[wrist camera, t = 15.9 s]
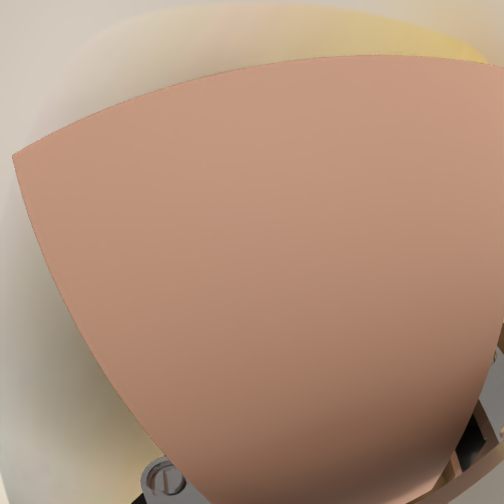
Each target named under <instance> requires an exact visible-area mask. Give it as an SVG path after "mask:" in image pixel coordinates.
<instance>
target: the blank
mask: <svg viewBox="0 0 504 504" xmlns="http://www.w3.org/2000/svg"><path fill="white" fill-rule="evenodd" d="M12 159H13V163H14V167H15V171H16V175H17V178H18V182H19V186H20V189H21V193H22V196H23V199H24V203H25V206H26V209H27V212H28V215H29V218H30V221H31V224H32V227H33V229H34V232H35V235H36V238H37V240H38V243H39V246H40V248H41V251H42V253H43V256H44V258H45V261H46V263H47V265H48V268H49V270H50V272H51V275H52V277H53V279H54V281H55V284H56V286H57V288H58V290H59V292H60V294H61V296H62V298H63V301H64V303H65V305H66V307H67V309H68V311H69V313H70V314H71V316H72V318H73V320H74V322H75V324H76V326H77V328H78V330H79V331H80V333H81V335H82V337H83V339H84V340H85V342H86V344H87V346H88V347H89V349H90V351H91V352H92V354H93V356H94V357H95V359H96V361H97V362H98V364H99V366H100V367H101V369H102V370H103V372H104V374H105V375H106V377H107V378H108V380H109V381H110V383H111V384H112V386H113V387H114V389H115V390H116V392H117V393H118V395H119V396H120V397H121V399H122V400H123V402H124V403H125V405H126V406H127V407H128V409H129V410H130V411H131V413H132V414H133V416H134V417H135V418H136V420H137V421H138V422H139V423H140V425H141V426H142V427H143V429H144V430H145V431H146V432H147V434H148V435H149V436H150V437H151V439H152V440H153V441H154V442H155V444H156V445H157V446H158V447H159V448H160V450H161V451H162V452H163V453H164V454H165V455H166V457H167V458H168V459H169V460H170V461H171V462H172V463H173V464H174V466H175V467H176V468H177V469H178V470H179V471H180V472H181V473H182V474H183V475H184V476H185V477H186V478H187V480H188V481H189V482H190V483H191V484H192V485H193V486H194V487H195V488H196V489H197V490H198V491H199V492H200V493H201V494H202V495H203V496H204V497H205V498H206V499H207V500H208V501H210V502H211V503H212V504H406V503H408V502H410V501H412V500H414V499H415V498H417V497H419V496H421V495H423V494H425V493H427V492H428V491H430V490H432V488H433V487H434V485H435V483H436V482H437V480H438V478H439V477H440V475H441V474H442V472H443V470H444V468H445V467H446V465H447V463H448V461H449V460H450V458H451V456H452V454H453V452H454V450H455V449H456V447H457V445H458V443H459V441H460V439H461V437H462V435H463V433H464V431H465V428H466V426H467V424H468V422H469V420H470V418H471V415H472V413H473V411H474V408H475V406H476V404H477V401H478V399H479V396H480V394H481V391H482V388H483V386H484V383H485V380H486V377H487V375H488V372H489V369H490V366H491V363H492V360H493V356H494V353H495V350H496V346H497V343H498V339H499V336H500V332H501V328H502V324H503V320H504V67H499V66H494V65H488V64H483V63H476V62H470V61H463V60H455V59H446V58H436V57H423V56H403V55H357V56H336V57H323V58H312V59H302V60H294V61H286V62H279V63H272V64H266V65H260V66H254V67H248V68H243V69H238V70H233V71H229V72H224V73H219V74H215V75H211V76H207V77H203V78H199V79H195V80H191V81H188V82H184V83H180V84H177V85H173V86H170V87H167V88H163V89H160V90H157V91H154V92H151V93H148V94H145V95H142V96H139V97H136V98H133V99H131V100H128V101H125V102H123V103H120V104H117V105H115V106H112V107H110V108H107V109H105V110H102V111H100V112H97V113H95V114H93V115H90V116H88V117H86V118H83V119H81V120H79V121H77V122H75V123H72V124H70V125H68V126H66V127H64V128H62V129H60V130H58V131H56V132H54V133H52V134H50V135H48V136H46V137H44V138H42V139H40V140H38V141H36V142H35V143H33V144H31V145H29V146H27V147H26V148H24V149H22V150H20V151H19V152H17V153H15V154H13V155H12Z"/></svg>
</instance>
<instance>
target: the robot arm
mask: <svg viewBox="0 0 504 504" xmlns="http://www.w3.org/2000/svg"><path fill="white" fill-rule="evenodd" d="M450 459H451V462H452V465H453V469H454V472H455V476H456V478H455V479H453V480H452V481H450V482H449V483H448V484H446V485H445V486H443V487H442V488H440V489H438V490H437V491H435V492H434V493H432V494H431V495H429V496H427V497H426V498H424V499H422V500H421V501H419V502H417V503H415V504H504V355H503V353H502V352H501V350H500V349H499V348H498V347H497V346H496V350H495V353H494V356H493V360H492V363H491V366H490V369H489V372H488V375H487V377H486V380H485V383H484V386H483V388H482V391H481V394H480V396H479V399H478V401H477V404H476V406H475V408H474V411H473V413H472V415H471V418H470V420H469V422H468V424H467V426H466V428H465V431H464V433H463V435H462V437H461V439H460V441H459V443H458V445H457V447H456V449H455V450H454V452H453V454H452V456H451V458H450ZM141 487H142V491H143V493H142V494H141V495H140V496H139V497H138V498H137V499H136V500H134V501H133V502H132V503H131V504H212V503H211V502H210V501H208V500H207V499H206V498H205V497H204V496H203V495H202V494H201V493H200V492H199V491H198V490H197V489H196V488H195V487H194V486H193V485H192V484H191V483H190V482H189V481H188V480H187V478H186V477H185V476H184V475H183V474H182V473H181V472H180V471H179V470H178V469H177V468H176V467H175V466H174V464H173V463H172V462H171V461H170V460H169V459H168V458H167V457H166V455H165V457H161V458H158V459H156V460H155V461H153V462H151V463H150V464H149V465H148V466H147V467H146V468H145V470H144V472H143V473H142V477H141Z"/></svg>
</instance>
